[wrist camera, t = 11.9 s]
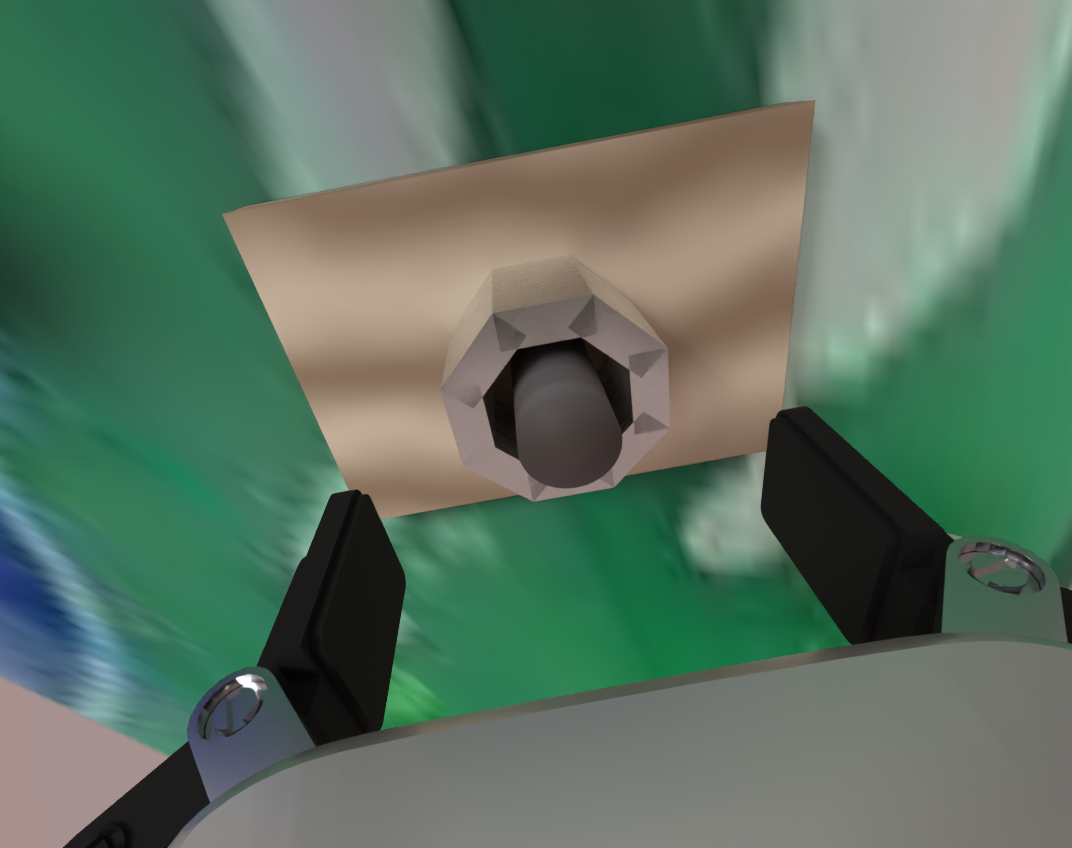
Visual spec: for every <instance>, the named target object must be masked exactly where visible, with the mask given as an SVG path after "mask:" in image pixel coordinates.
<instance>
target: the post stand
mask: <svg viewBox="0 0 1072 848" xmlns="http://www.w3.org/2000/svg"><path fill="white" fill-rule="evenodd" d="M814 105H815V101H801V102H788V103H780V104H775V105H770V106H765V107H760V108H754V109H749V110H744V111H739V112H734V113H728V114H723V115H718V116H713V117H708V118H702V119H697V120H692V121H687V122H681V123H676V124H671V125H666V126H661V127H655V128H650V129H645V130H640V131H635V132H629V133H624V134H619V135H614V136H609V137H603V138H598V139H593V140H588V141H582V142H577V143H572V144H567V145H562V146H556V147H551V148H546V149H541V150H536V151H530V152H525V153H520V154H515V155H510V156H504V157H499V158H494V159H489V160H483V161H478V162H473V163H468V164H463V165H457V166H452V167H447V168H442V169H437V170H431V171H426V172H421V173H416V174H411V175H405V176H400V177H395V178H390V179H384V180H379V181H374V182H369V183H364V184H358V185H353V186H348V187H343V188H338V189H332V190H327V191H322V192H317V193H312V194H306V195H301V196H296V197H291V198H285V199H280V200H275V201H270V202H265V203H259V204H254V205H249V206H245V207H242V208H239V209H236V210H233V211H230V212H227V213H224V214H222V215H223V217H224V219H225V222H226V224H227V226H228V228H229V230H230V232H231V235H232V237H233V239H234V241H235V243H236V245H237V248H238V250H239V252H240V254H241V256H242V258H243V261H244V263H245V265H246V267H247V269H248V271H249V274H250V276H251V278H252V280H253V282H254V285H255V287H256V289H257V291H258V293H259V295H260V298H261V300H262V302H263V304H264V306H265V308H266V311H267V313H268V315H269V317H270V319H271V321H272V324H273V326H274V328H275V330H276V332H277V334H278V337H279V339H280V341H281V343H282V345H283V348H284V350H285V352H286V354H287V356H288V358H289V361H290V363H291V365H292V367H293V369H294V371H295V374H296V376H297V378H298V380H299V382H300V384H301V387H302V389H303V391H304V393H305V395H306V397H307V400H308V402H309V404H310V406H311V408H312V411H313V413H314V415H315V417H316V419H317V421H318V424H319V426H320V428H321V430H322V432H323V434H324V437H325V439H326V441H327V443H328V445H329V447H330V450H331V452H332V454H333V456H334V458H335V460H336V463H337V465H338V467H339V469H340V471H341V474H342V476H343V478H344V480H345V482H346V484H347V487H348V489H349V491H350V490H355V489H358V490H359V491H361V493H362V494H368V495H369V496H370V497H371V499H372V501H373V504H374V506H375V508H376V510H377V513H378V515H379V517H380V519H386V518H392V517H397V516H403V515H408V514H414V513H420V512H425V511H431V510H436V509H442V508H448V507H453V506H459V505H464V504H470V503H476V502H481V501H487V500H492V499H498V498H504V497H509V496H515V495H519V494H517V493H515V492H513V491H511V490H509V489H507V488H505V487H503V486H501V485H499V484H497V483H495V482H494V481H492V480H490V479H488V478H486V477H484V476H482V475H480V474H478V473H476V472H474V471H472V470H470V469H468V468H466V467H464V466H463V465H462V461H461V458H460V455H459V451H458V448H457V445H456V441H455V438H454V435H453V431H452V428H451V425H450V421H449V418H448V415H447V411H446V408H445V405H444V401H443V398H442V395H441V391H440V388H441V383H442V377H443V372H444V367H445V362H446V357H447V352H448V346H449V341H450V336H451V331H452V330H453V328H454V327H455V325H456V324H457V322H458V321H459V319H460V318H461V316H462V315H463V313H464V312H465V310H466V308H467V307H468V305H469V304H470V302H471V301H472V299H473V298H474V296H475V295H476V293H477V292H478V290H479V289H480V287H481V285H482V284H483V282H484V281H485V279H486V278H487V276H488V275H489V273H490V272H491V270H492V269H496V268H502V267H507V266H512V265H517V264H523V263H528V262H533V261H539V260H544V259H549V258H554V257H560V256H565V255H571V256H572V257H574V258H575V259H576V260H578V261H579V262H580V263H582V264H583V265H584V266H586V267H587V268H588V269H590V270H591V271H593V272H594V273H595V274H597V275H598V276H599V277H601V278H602V279H603V280H605V281H606V282H607V283H609V284H610V285H611V286H613V287H614V288H615V289H617V290H618V291H619V292H621V293H622V294H623V295H625V296H626V297H627V298H629V299H630V301H631V302H632V303H633V304H634V306H635V307H636V308H637V310H638V311H639V312H640V313H641V315H642V316H643V317H644V318H645V320H646V321H647V322H648V324H649V325H650V326H651V327H652V329H653V330H654V331H655V332H656V334H657V335H658V336H659V337H660V339H661V340H662V341H663V343H664V344H665V345H666V346H667V348H668V373H669V406H670V429H669V430H668V431H667V432H666V433H665V434H664V435H663V436H662V438H661V439H660V440H659V441H658V442H657V443H656V444H655V445H654V446H653V447H652V448H651V449H650V450H649V451H648V452H647V453H646V454H645V455H644V456H643V458H642V459H641V460H640V461H639V462H638V463H637V464H636V465H635V466H634V467H633V468H632V469H631V470H630V471H629V472H628V473H627V474H626V475H625V476H627V475H632V474H638V473H644V472H649V471H655V470H660V469H666V468H672V467H677V466H683V465H689V464H694V463H700V462H705V461H711V460H717V459H722V458H728V457H733V456H739V455H745V454H750V453H756V452H761V451H767V441H768V432H769V423H770V421H771V419H773V418H776V415H777V413H778V412H779V411H781V410H782V405H783V395H784V386H785V377H786V367H787V358H788V348H789V339H790V330H791V320H792V311H793V302H794V292H795V283H796V274H797V264H798V255H799V246H800V236H801V227H802V218H803V208H804V199H805V190H806V180H807V171H808V162H809V152H810V143H811V134H812V124H813V115H814ZM603 361H604V355H603V352H602V351H601V350H599V349H598V348H596V347H595V346H593V345H592V344H590V343H589V342H587V341H586V340H585V339H583V338H582V337H580V338H574V339H569V340H563V341H558V342H553V343H547V344H542V345H536V346H531V347H526V348H520V349H517V350H516V352H515V353H514V354H513V356H512V357H511V358H510V360H509V361H508V363H507V364H506V365H505V367H504V368H503V369H502V371H501V372H500V374H499V375H498V376H497V378H496V379H495V380H494V381H496V382H497V383H499V384H501V385H502V386H504V387H506V388H508V389H509V390H511V391H513V398H514V411H515V423H516V436H517V448H518V456H519V459H520V462H521V464H522V466H523V468H524V469H525V471H526V472H527V473H528V474H529V475H530V476H531V477H532V478H534V479H535V480H537V481H538V482H540V483H542V484H544V485H547V486H550V487H555V488H577V487H581V486H585V485H588V484H590V483H592V482H595V481H596V480H598V479H600V478H601V477H603V476H604V475H605V474H606V473H607V472H608V471H609V470H610V469H611V468H612V467H613V466H614V465H615V463H616V461H617V460H618V458H619V455H620V453H621V449H622V432H621V429H620V426H619V424H618V421H617V419H616V417H615V414H614V412H613V409H612V407H611V405H610V402H609V400H608V398H607V395H606V393H605V391H604V388H603V386H602V384H601V381H600V379H599V376H598V374H597V372H596V370H597V368H598V367H599V366H600V365H601V364H602V362H603Z"/></svg>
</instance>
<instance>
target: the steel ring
mask: <svg viewBox="0 0 1072 848" xmlns="http://www.w3.org/2000/svg"><path fill="white" fill-rule="evenodd" d="M580 337H582V338H583V339H585V340H586V341H587V342H589V343H590V344H592V345H593V346H595V347H596V348H598V349H599V350H601V351H602V352H603V355H604V361H603V362H602V364H601V365H600V366H599V367H598V368H597V370H596V372H597V374H598V376H599V379H600V381H601V384H602V386H603V388H604V391H605V393H606V395H607V398H608V400H609V402H610V405H611V407H612V409H613V412H614V414H615V417H616V419H617V421H618V424H619V426H620V429H621V432H622V449H621V453H620V455H619V458H618V460H617V461H616V463H615V465H614V466H613V467H612V468H611V469H610V470H609V471H608V472H607V473H606V474H605V475H604V476H603V477H601V478H600V479H598V480H596V481H595V482H592V483H590V484H588V485H585V486H581V487H577V488H555V487H550V486H547V485H544V484H542V483H540V482H538V481H537V480H535V479H534V478H532V477H531V476H530V475H529V474H528V473H527V472H526V471H525V469H524V468H523V466H522V464H521V462H520V459H519V456H518V448H517V436H516V423H515V411H514V398H513V391H511V390H509V389H508V388H506V387H504V386H502V385H501V384H499V383H497V382H496V381H494V380H495V379H496V378H497V376H498V375H499V374H500V372H501V371H502V369H503V368H504V367H505V365H506V364H507V363H508V361H509V360H510V358H511V357H512V356H513V354H514V353H515V352H516V350H517V349H520V348H526V347H531V346H536V345H542V344H547V343H553V342H558V341H563V340H569V339H574V338H580ZM440 391H441V395H442V398H443V401H444V405H445V408H446V411H447V415H448V418H449V421H450V425H451V428H452V431H453V435H454V438H455V441H456V445H457V448H458V451H459V455H460V458H461V461H462V465H463V466H464V467H466V468H468V469H470V470H472V471H474V472H476V473H478V474H480V475H482V476H484V477H486V478H488V479H490V480H492V481H494V482H495V483H497V484H499V485H501V486H503V487H505V488H507V489H509V490H511V491H513V492H515V493H517V494H519V495H521V496H523V497H525V498H527V499H529V500H531V501H533V502H535V501H541V500H546V499H552V498H557V497H563V496H568V495H574V494H580V493H585V492H591V491H596V490H602V489H607V488H613V487H615V486H616V485H617V484H618V483H619V482H620V481H621V480H622V479H623V478H624V476H625V475H626V474H627V473H628V472H629V471H630V470H631V469H632V468H633V467H634V466H635V465H636V464H637V463H638V462H639V461H640V460H641V459H642V458H643V456H644V455H645V454H646V453H647V452H648V451H649V450H650V449H651V448H652V447H653V446H654V445H655V444H656V443H657V442H658V441H659V440H660V439H661V438H662V436H663V435H664V434H665V433H666V432H667V431H668V430H669V429H670V406H669V373H668V348H667V346H666V345H665V344H664V343H663V341H662V340H661V339H660V337H659V336H658V335H657V334H656V332H655V331H654V330H653V329H652V327H651V326H650V325H649V324H648V322H647V321H646V320H645V318H644V317H643V316H642V315H641V313H640V312H639V311H638V310H637V308H636V307H635V306H634V304H633V303H632V302H631V301H630V299H629V298H627V297H626V296H625V295H623V294H622V293H621V292H619V291H618V290H617V289H615V288H614V287H613V286H611V285H610V284H609V283H607V282H606V281H605V280H603V279H602V278H601V277H599V276H598V275H597V274H595V273H594V272H593V271H591V270H590V269H588V268H587V267H586V266H584V265H583V264H582V263H580V262H579V261H578V260H576V259H575V258H574V257H572V256H571V255H565V256H560V257H554V258H549V259H544V260H539V261H533V262H528V263H523V264H517V265H512V266H507V267H502V268H496V269H492V270H491V272H490V273H489V275H488V276H487V278H486V279H485V281H484V282H483V284H482V285H481V287H480V289H479V290H478V292H477V293H476V295H475V296H474V298H473V299H472V301H471V302H470V304H469V305H468V307H467V308H466V310H465V312H464V313H463V315H462V316H461V318H460V319H459V321H458V322H457V324H456V325H455V327H454V328H453V330H452V331H451V336H450V341H449V346H448V352H447V357H446V362H445V367H444V372H443V377H442V383H441V388H440Z"/></svg>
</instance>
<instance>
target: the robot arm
mask: <svg viewBox="0 0 1072 848" xmlns="http://www.w3.org/2000/svg"><path fill="white" fill-rule="evenodd" d="M761 512H762V516H763V518H764V520H765V522H766V523H767V525H768V526H769V528H770V529H771V531H772V532H773V534H774V535H775V537H776V538H777V539H778V541H779V542H780V544H781V545H782V547H783V548H784V550H785V551H786V553H787V554H788V555H789V557H790V558H791V560H792V561H793V563H794V564H795V566H796V567H797V568H798V570H799V571H800V573H801V574H802V576H803V577H804V579H805V580H806V582H807V583H808V584H809V586H810V587H811V589H812V590H813V592H814V593H815V595H816V596H817V598H818V599H819V600H820V602H821V603H822V605H823V606H824V608H825V609H826V611H827V612H828V613H829V615H830V616H831V618H832V619H833V621H834V622H835V624H836V625H837V627H838V628H839V629H840V631H841V632H842V634H843V635H844V637H845V638H846V639H847V641H848V642H849V643H851V644H852V645H849V646H842V647H836V648H830V649H823V650H818V651H812V652H806V653H800V654H795V655H789V656H783V657H777V658H772V659H766V660H760V661H754V662H749V663H743V664H737V665H731V666H726V667H720V668H714V669H708V670H703V671H697V672H691V673H686V674H680V675H675V676H669V677H664V678H658V679H652V680H647V681H641V682H636V683H630V684H624V685H619V686H613V687H608V688H602V689H597V690H591V691H586V692H580V693H575V694H569V695H564V696H558V697H553V698H547V699H542V700H536V701H531V702H526V703H520V704H515V705H509V706H504V707H499V708H493V709H488V710H482V711H477V712H472V713H466V714H461V715H455V716H450V717H445V718H440V719H435V720H430V721H425V722H420V723H415V724H410V725H405V726H400V727H395V728H390V729H385V730H380V729H381V727H382V724H383V720H384V714H385V708H386V702H387V696H388V690H389V684H390V678H391V672H392V666H393V660H394V654H395V648H396V642H397V636H398V630H399V624H400V618H401V611H402V605H403V599H404V593H405V587H406V580H405V574H404V571H403V569H402V566H401V564H400V562H399V560H398V557H397V555H396V553H395V551H394V548H393V546H392V544H391V542H390V539H389V537H388V535H387V533H386V531H385V528H384V526H383V524H382V522H381V519H380V517H379V515H378V513H377V510H376V508H375V506H374V504H373V501H372V499H371V497H370V496H369V495H368V494H362V493H361V491H359V490H358V489H355V490H350V491H344V492H339V493H334V494H332V495H331V496H330V498H329V501H328V503H327V506H326V508H325V511H324V513H323V516H322V518H321V521H320V523H319V526H318V528H317V530H316V533H315V535H314V538H313V540H312V543H311V545H310V548H309V550H308V553H307V555H306V557H304V558H303V559H302V560H301V561H300V563H299V565H298V567H297V569H296V572H295V574H294V577H293V579H292V582H291V584H290V586H289V589H288V591H287V594H286V596H285V599H284V601H283V603H282V606H281V608H280V611H279V613H278V616H277V618H276V620H275V623H274V625H273V628H272V630H271V633H270V635H269V637H268V640H267V642H266V645H265V647H264V650H263V652H262V654H261V657H260V659H259V662H258V664H257V666H255V667H246V668H243V669H241V670H238V671H235V672H233V673H231V674H230V675H228V676H226V677H225V678H223V679H222V680H220V681H219V682H218V683H217V684H215V685H214V686H213V687H212V688H211V689H210V690H208V692H207V693H206V694H205V695H204V696H203V698H202V699H201V700H200V701H199V702H198V704H197V706H196V707H195V709H194V711H193V713H192V714H191V716H190V720H189V724H188V727H187V735H188V742H187V743H185V744H184V745H183V746H182V747H181V748H179V749H178V750H177V751H176V752H175V753H173V754H172V755H171V756H170V757H169V758H168V759H166V760H165V761H164V762H163V763H162V764H161V765H159V766H158V767H157V768H156V769H155V770H153V771H152V772H151V773H150V774H148V775H147V776H146V777H145V778H144V779H143V780H141V781H140V782H139V783H138V784H137V785H135V786H134V787H133V788H132V789H131V790H129V791H128V792H127V793H126V794H125V795H123V797H121V798H120V799H119V800H117V801H116V802H115V803H114V804H113V805H112V806H110V807H109V808H108V809H107V810H105V811H104V812H103V813H102V814H101V815H100V816H98V817H97V818H96V819H95V820H94V821H92V822H91V823H90V824H89V825H88V826H86V827H85V828H84V829H83V830H82V831H81V832H79V833H78V834H77V835H76V836H75V837H74V838H73V839H72V840H70V841H69V842H68V844H66V845H65V846H64V847H63V848H1072V590H1069V589H1065V588H1062V587H1060V585H1059V581H1058V579H1057V576H1056V574H1055V572H1054V571H1053V570H1052V569H1051V567H1050V566H1049V565H1048V564H1047V563H1046V562H1045V561H1044V560H1042V559H1041V558H1039V557H1038V556H1037V555H1035V554H1034V553H1032V552H1031V551H1029V550H1027V549H1025V548H1023V547H1021V546H1019V545H1017V544H1014V543H1011V542H1008V541H1005V540H1001V539H998V538H992V537H986V536H967V537H964V538H960V539H957V540H954V539H953V538H951V537H950V536H949V535H948V534H947V533H946V532H945V531H944V529H943V528H942V527H940V526H939V525H938V524H937V523H936V522H935V521H934V520H933V519H932V518H931V517H929V516H928V515H927V514H926V513H925V512H924V511H923V510H922V509H921V508H919V507H918V506H917V505H916V504H915V503H914V502H913V501H912V500H911V499H910V498H908V497H907V496H906V495H905V494H904V493H903V492H902V491H901V490H900V489H898V488H897V487H896V486H895V485H894V484H893V483H892V482H891V481H890V480H889V479H887V478H886V477H885V476H884V475H883V474H882V473H881V472H880V471H879V470H877V469H876V468H875V467H874V466H873V465H872V464H871V463H870V462H869V461H868V460H866V459H865V458H864V457H863V456H862V455H861V454H860V453H859V452H858V451H856V450H855V449H854V448H853V447H852V446H851V445H850V444H849V443H848V442H847V441H845V440H844V439H843V438H842V437H841V436H840V435H839V434H838V433H837V432H835V431H834V430H833V429H832V428H831V427H830V426H829V425H828V424H827V423H826V422H824V421H823V420H822V419H821V418H820V417H819V416H818V415H817V414H816V413H814V412H813V411H812V410H811V409H810V408H808V407H806V406H803V407H797V408H792V409H786V410H781V411H779V412H778V413H777V415H776V418H773V419H771V421H770V423H769V432H768V441H767V451H766V460H765V470H764V480H763V489H762V499H761ZM379 730H380V731H379ZM375 731H376V732H375Z"/></svg>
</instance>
